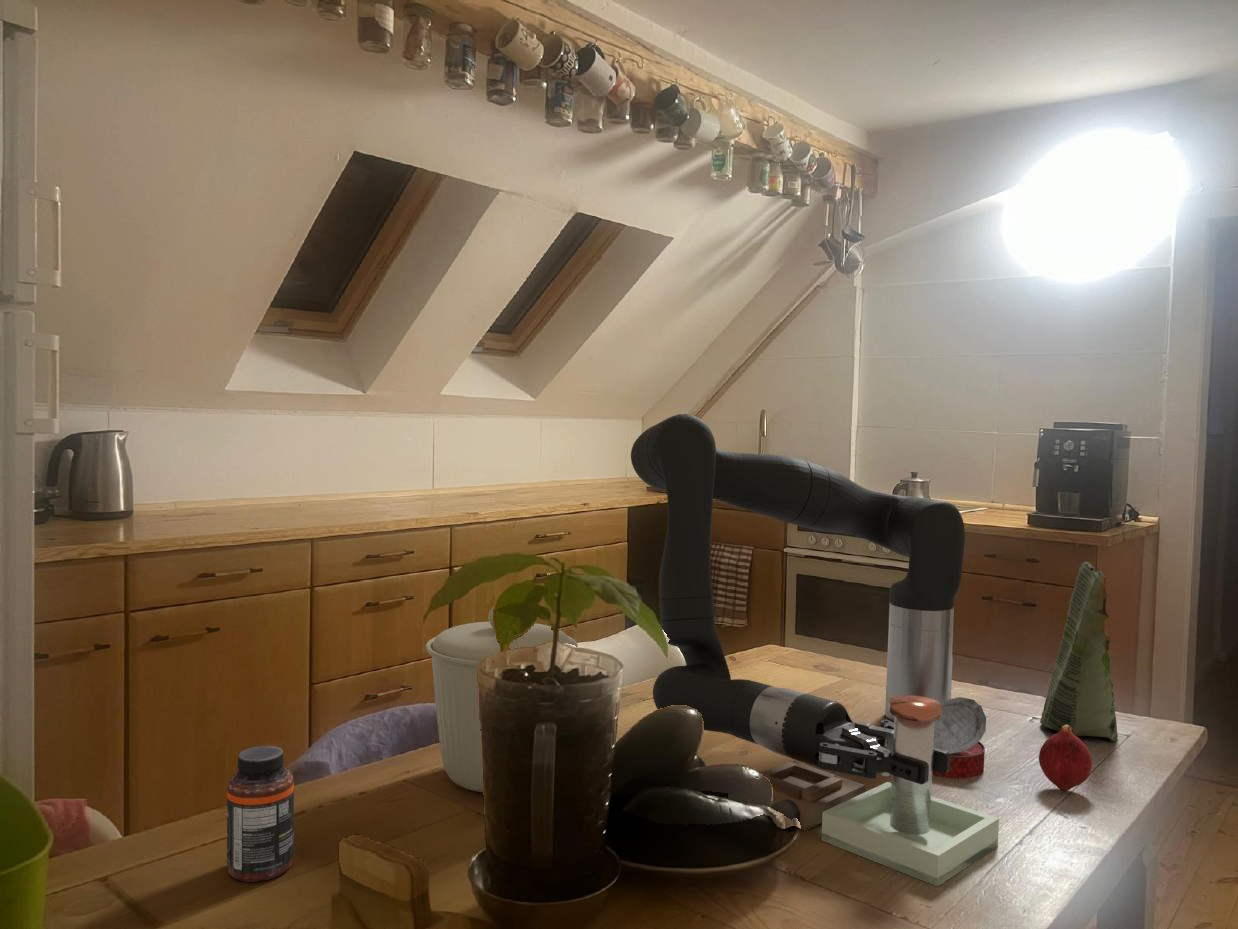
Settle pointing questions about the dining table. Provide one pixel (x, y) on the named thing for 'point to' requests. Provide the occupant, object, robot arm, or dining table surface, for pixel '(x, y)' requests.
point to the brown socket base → (808, 791)
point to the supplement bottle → (260, 816)
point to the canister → (468, 691)
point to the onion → (1065, 759)
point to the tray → (924, 857)
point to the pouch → (1083, 665)
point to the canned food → (961, 737)
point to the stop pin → (916, 742)
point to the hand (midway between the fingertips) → (937, 768)
